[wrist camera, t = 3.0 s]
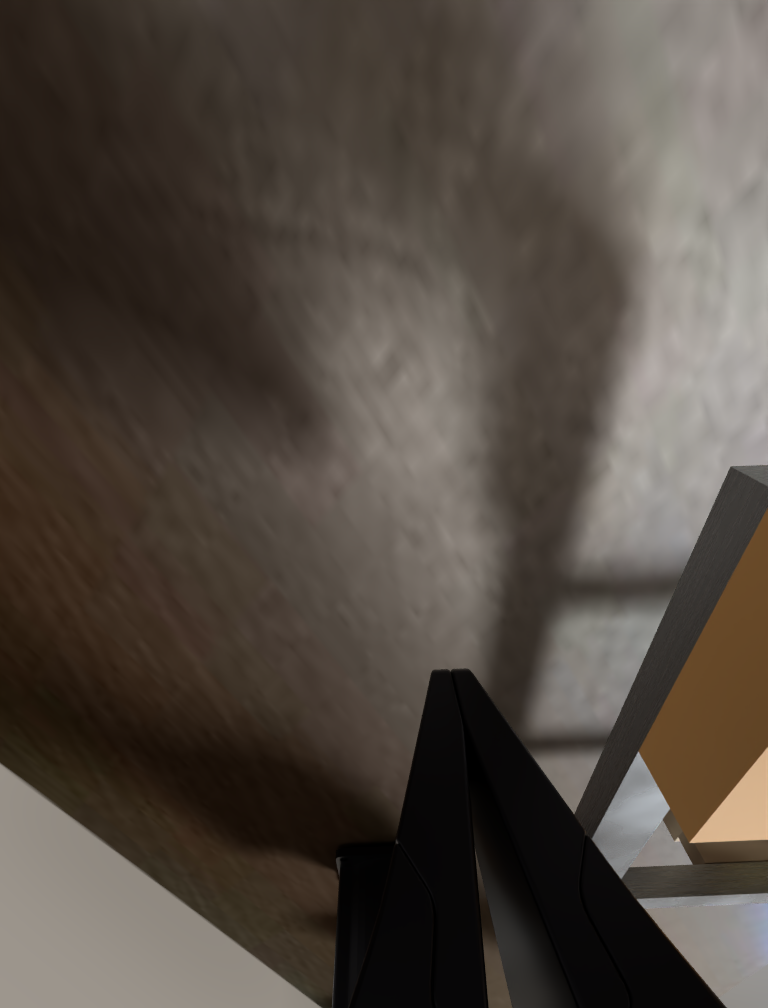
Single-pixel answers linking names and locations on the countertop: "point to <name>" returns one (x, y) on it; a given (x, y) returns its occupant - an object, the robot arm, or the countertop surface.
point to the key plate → (626, 771)
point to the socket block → (718, 847)
